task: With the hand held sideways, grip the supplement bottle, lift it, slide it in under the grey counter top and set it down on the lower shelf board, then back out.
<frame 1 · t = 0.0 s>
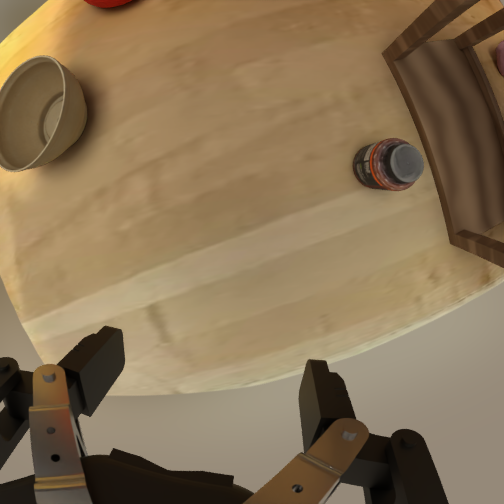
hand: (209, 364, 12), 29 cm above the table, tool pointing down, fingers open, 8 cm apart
video game controller: (503, 58, 30), on the table
supplement bottle: (371, 166, 37), on the table
under-counter shelf: (461, 135, 35), on the table
planter bowl: (66, 120, 38), on the table
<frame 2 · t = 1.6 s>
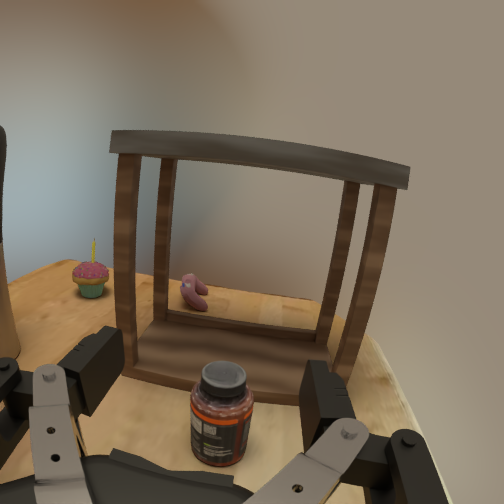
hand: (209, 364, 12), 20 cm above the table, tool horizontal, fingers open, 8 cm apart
video game controller: (193, 302, 64), on the table
supplement bottle: (217, 449, 28), on the table
cupcake: (92, 294, 59), on the table
under-counter shelf: (233, 364, 44), on the table
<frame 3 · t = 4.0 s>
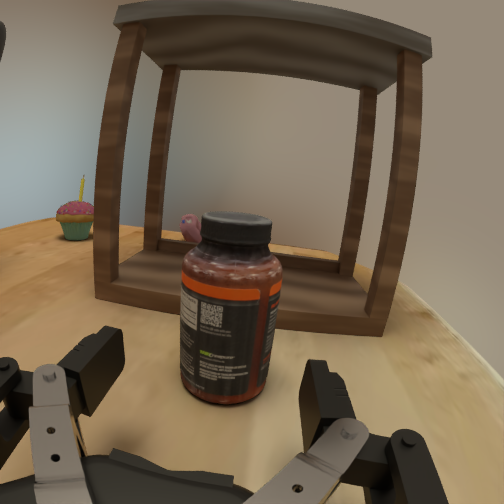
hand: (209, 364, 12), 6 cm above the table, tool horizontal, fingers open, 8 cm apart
video game controller: (194, 246, 56), on the table
supplement bottle: (222, 382, 20), on the table
cupcake: (76, 238, 51), on the table
under-counter shelf: (241, 292, 36), on the table
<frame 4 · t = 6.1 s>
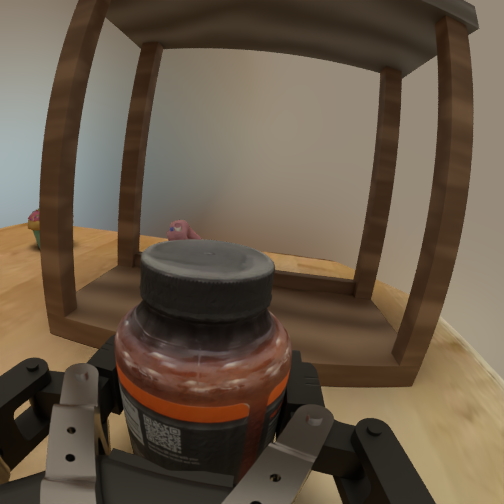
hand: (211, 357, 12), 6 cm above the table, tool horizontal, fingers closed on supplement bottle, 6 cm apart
video game controller: (185, 258, 48), on the table
supplement bottle: (199, 477, 12), on the table, touching gripper
cupcake: (51, 248, 43), on the table
under-counter shelf: (234, 325, 28), on the table
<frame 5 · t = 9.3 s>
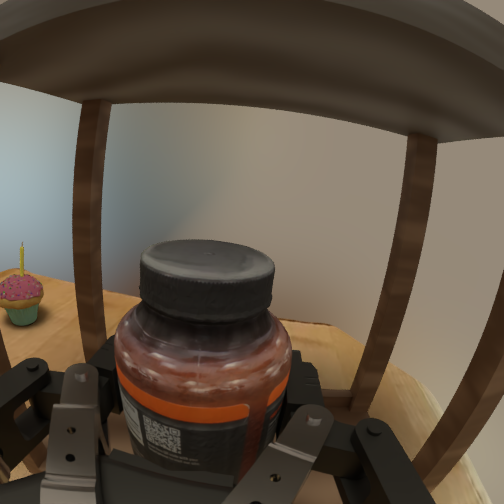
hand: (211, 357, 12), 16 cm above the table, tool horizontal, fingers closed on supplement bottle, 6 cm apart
supplement bottle: (199, 477, 12), point 9 cm above the table, touching gripper
cupcake: (24, 320, 36), on the table
under-counter shelf: (213, 460, 22), on the table
when the fingers open (9 cm above the table, at t = 12.8 s): supplement bottle stays where it is, resting on under-counter shelf.
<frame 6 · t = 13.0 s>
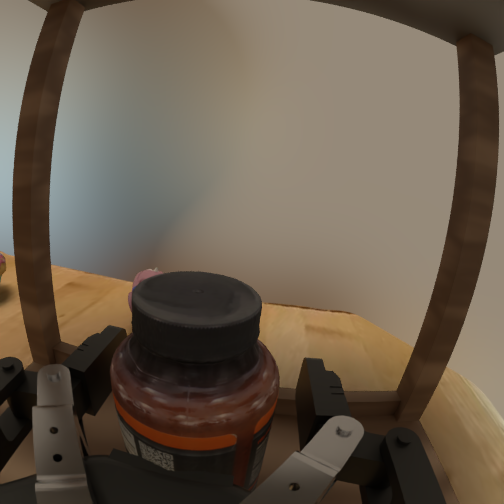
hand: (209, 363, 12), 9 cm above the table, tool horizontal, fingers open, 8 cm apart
video game controller: (160, 323, 33), on the table
supplement bottle: (195, 488, 12), point 2 cm above the table, touching under-counter shelf
under-counter shelf: (199, 500, 12), on the table
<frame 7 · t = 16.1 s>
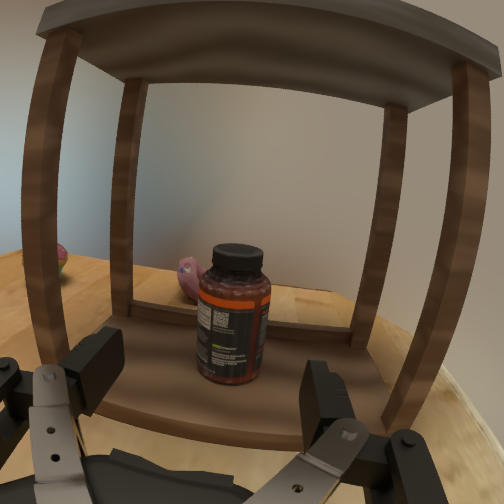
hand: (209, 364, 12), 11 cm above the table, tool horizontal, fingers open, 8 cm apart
video game controller: (195, 295, 48), on the table
supplement bottle: (227, 369, 27), point 2 cm above the table, touching under-counter shelf
cupcake: (47, 284, 42), on the table
under-counter shelf: (228, 383, 27), on the table
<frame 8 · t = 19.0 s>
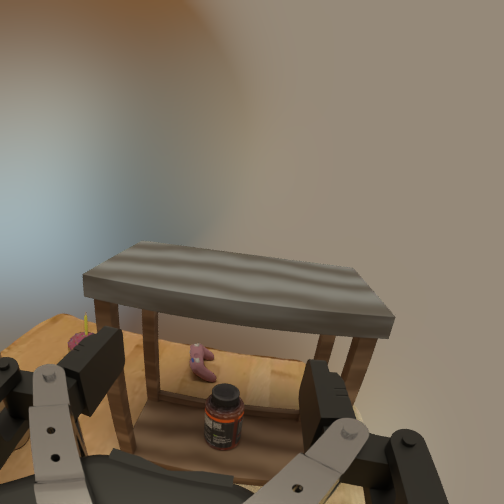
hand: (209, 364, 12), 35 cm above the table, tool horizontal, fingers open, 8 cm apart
video game controller: (202, 370, 64), on the table
supplement bottle: (221, 439, 43), point 2 cm above the table, touching under-counter shelf
cupcake: (88, 362, 58), on the table
under-counter shelf: (222, 445, 43), on the table
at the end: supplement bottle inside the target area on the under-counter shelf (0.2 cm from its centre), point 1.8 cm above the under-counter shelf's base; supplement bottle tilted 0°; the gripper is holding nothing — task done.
